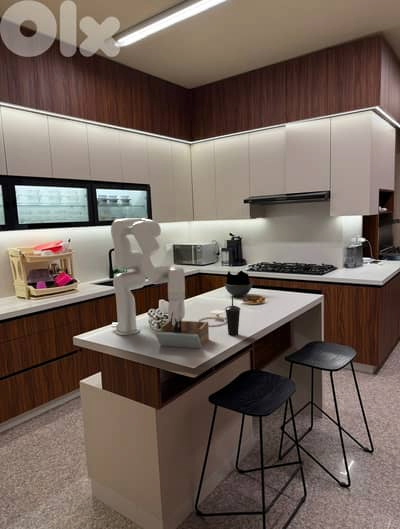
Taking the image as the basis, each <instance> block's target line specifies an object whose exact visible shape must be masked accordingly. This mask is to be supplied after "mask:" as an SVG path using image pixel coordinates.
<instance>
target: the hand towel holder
mask: <svg viewBox="0 0 400 529" xmlns="http://www.w3.org/2000/svg"><path fill="white" fill-rule="evenodd" d="M210 313H211V314H212V315H215V316H206V317H205V316H204V317H202V318H198V319H197V320H196V321H200V322H201V321H202V320H203V321H204V320H208V319H212V318H213V319H214V318H215V319H216V320H222V321H224V322H221V323H217V324H208V328H209V327H210V328H213V327H214V328H215V327H220V326H223V325H225V324H226V323H227V319H226V318H225V317H221V316H220V315H223V314H224V313H225V310H222V309H213V310H211V311H210Z"/></svg>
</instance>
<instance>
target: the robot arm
mask: <svg viewBox="0 0 400 529" xmlns="http://www.w3.org/2000/svg"><path fill="white" fill-rule="evenodd" d="M161 231H162V230H161V226H160V224H159V223H158V222H157V221H155V220H153V219H149V218H148V219H147V218H142V217H141V218H140V217H138V218H136V217H134V218H133V217H132V218H129V217H128V218H119V219H115V220H114V221H113V222H112V223H111V227H110V233H111V238H112V241H113V249H114V250H113V252H114V264H115V268H116V269H117V270H119V271H125V272H121V273H117V274H116V275H115V276H113V279H112V280H113V281H112V283H113V289H114V293H115V302H116V314H117V315H116V316H117V322H112V323H111V328H113V329H114V328H115V331H114V332H115V334H116V335H120V336H129V335H134V334H137V333H138V332H140V327H138V326H137V314H136V298H135V296H134V294H133V293H132V291H131V290H137V289H141V288H143V287H144V286H145V285H146V280H147V281H149V283H151V284H153V285H159V284H165V283H167V299H168V303H167V304H168V307H167V308H168V309H167V321H169V322H170V321H172V325H173V327H174V333H182V326H181V325H182V321H183V318H185V314H186V311H185V310H186V308H185V299H186V280H185V279H186V278H185V277H186V276H185V269H184V268H182V267H179V266H178V267H177V266H174V265H170V264H169V265H168V264H167V265H162V266H161V265H159V266H156V267H155V266H154V264H153V262H152V260H151V259H152V258H151V257H152V256H153V255H155V254H156V253H157V252H158V250H160V244H159V242H158V240H157V238H158V237H159V236H160V235H161ZM127 236H133V237H134V238H135V240H136V243H137V244H138V246H139V248H140V249H141V251H139V250H132V243H131V241H130V239H129V238H128V237H127ZM128 270H132V271H128Z"/></svg>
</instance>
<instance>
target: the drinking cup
mask: <svg viewBox="0 0 400 529" xmlns="http://www.w3.org/2000/svg"><path fill="white" fill-rule="evenodd" d="M224 311H225V317H226V323H227V324H226V326H227V332H228V336H229V335H230V336H229V337H237V336H239V327H240V312H241V307H239V306H237V305H234V296H233V295H231V305H229V306H227V307H225V308H224ZM236 335H237V336H236Z"/></svg>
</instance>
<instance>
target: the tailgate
mask: <svg viewBox="0 0 400 529" xmlns="http://www.w3.org/2000/svg"><path fill="white" fill-rule="evenodd" d="M154 334H155V337H156V338H157V340H158V343H159V346H163V347H164V346H166V347H175V348H176V347H179V348H189V349H190V348H191V349H202V348H203V347H202V345H201V342H200V339H199V336H198V334H184V333H169V332H161V331H155V333H154Z"/></svg>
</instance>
